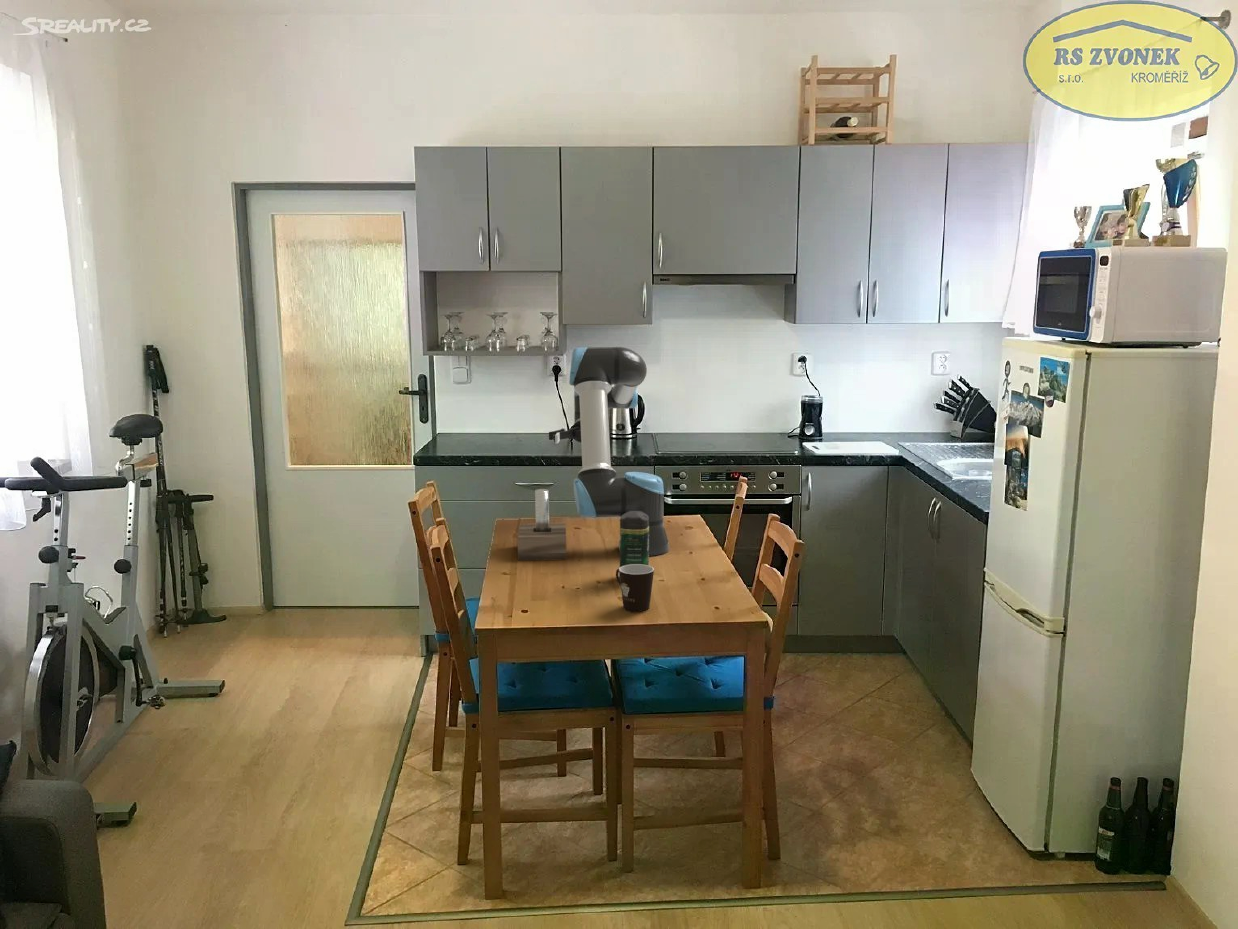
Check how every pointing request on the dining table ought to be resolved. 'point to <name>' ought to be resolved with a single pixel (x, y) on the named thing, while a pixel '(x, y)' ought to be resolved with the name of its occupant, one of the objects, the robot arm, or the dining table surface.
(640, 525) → the coffee jar
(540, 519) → the steel pin
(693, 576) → the dining table surface
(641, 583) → the coffee mug
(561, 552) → the socket block
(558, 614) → the dining table surface
